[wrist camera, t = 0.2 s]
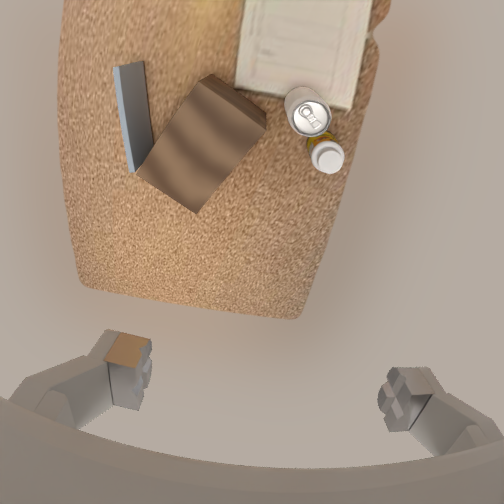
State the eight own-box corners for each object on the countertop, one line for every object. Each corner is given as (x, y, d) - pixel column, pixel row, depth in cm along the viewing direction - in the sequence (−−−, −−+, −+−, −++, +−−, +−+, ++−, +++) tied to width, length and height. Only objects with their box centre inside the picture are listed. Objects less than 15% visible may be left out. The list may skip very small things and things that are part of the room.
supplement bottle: (339, 132, 55) (352, 151, 46) (330, 159, 58) (342, 182, 50) (310, 125, 54) (318, 142, 46) (302, 153, 57) (309, 174, 49)
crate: (211, 73, 49) (198, 81, 39) (266, 113, 53) (266, 130, 44) (157, 149, 58) (135, 174, 48) (207, 183, 62) (196, 214, 52)
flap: (137, 61, 46) (112, 67, 38) (143, 60, 46) (118, 66, 38) (149, 150, 57) (129, 172, 49) (154, 150, 57) (135, 172, 48)
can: (305, 79, 49) (315, 88, 39) (327, 107, 52) (342, 123, 42) (276, 100, 52) (279, 114, 42) (299, 127, 55) (306, 148, 45)
